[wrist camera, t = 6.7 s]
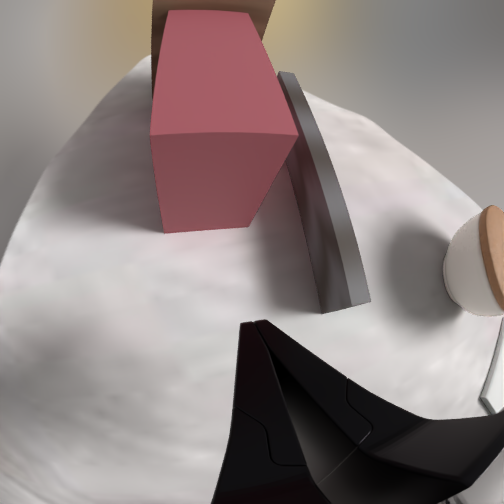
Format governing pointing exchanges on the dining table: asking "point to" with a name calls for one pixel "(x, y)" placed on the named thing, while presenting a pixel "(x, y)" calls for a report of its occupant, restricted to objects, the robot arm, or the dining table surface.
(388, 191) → the dining table surface
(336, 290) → the bookend
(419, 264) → the dining table surface
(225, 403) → the dining table surface
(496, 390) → the external hard drive
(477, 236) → the lidded jar
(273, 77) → the pink rectangular block
